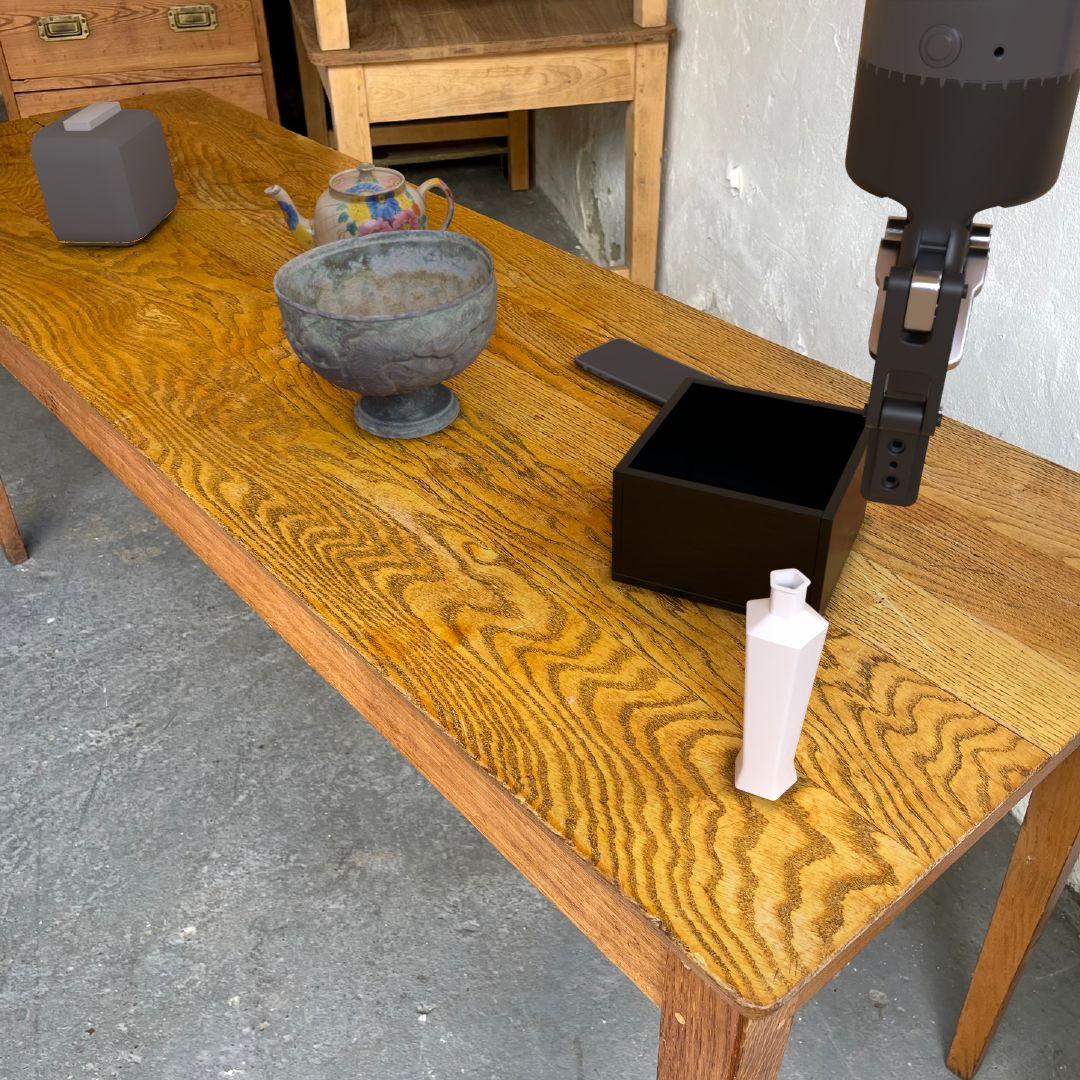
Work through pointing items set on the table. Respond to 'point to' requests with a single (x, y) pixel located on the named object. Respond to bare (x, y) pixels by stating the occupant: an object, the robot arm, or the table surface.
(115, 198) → the alarm clock
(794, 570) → the perfume bottle
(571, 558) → the table surface
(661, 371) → the smartphone
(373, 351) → the bowl
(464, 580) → the table surface
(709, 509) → the open box
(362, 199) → the teapot
